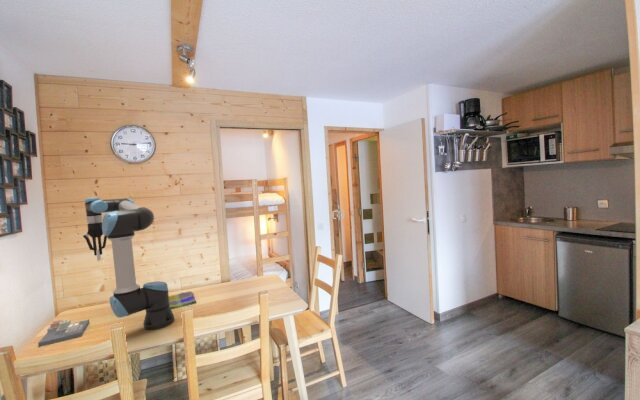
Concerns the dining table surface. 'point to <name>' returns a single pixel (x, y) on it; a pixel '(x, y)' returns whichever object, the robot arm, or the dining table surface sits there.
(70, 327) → the cream tile
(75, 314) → the dining table surface
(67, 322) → the sage tile
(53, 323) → the terracotta tile
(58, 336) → the button board
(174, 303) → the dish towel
